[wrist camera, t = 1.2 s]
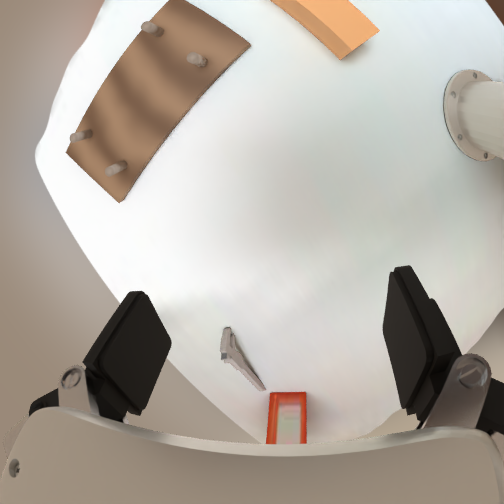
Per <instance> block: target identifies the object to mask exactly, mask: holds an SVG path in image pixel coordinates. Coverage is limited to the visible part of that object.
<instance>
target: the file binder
mask: <svg viewBox="0 0 504 504" xmlns="http://www.w3.org/2000/svg"><path fill="white" fill-rule="evenodd" d="M306 436H307V432H306V393H305V392H284V393H270V402H269V415H268V427H267V438H266V444H306Z"/></svg>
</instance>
